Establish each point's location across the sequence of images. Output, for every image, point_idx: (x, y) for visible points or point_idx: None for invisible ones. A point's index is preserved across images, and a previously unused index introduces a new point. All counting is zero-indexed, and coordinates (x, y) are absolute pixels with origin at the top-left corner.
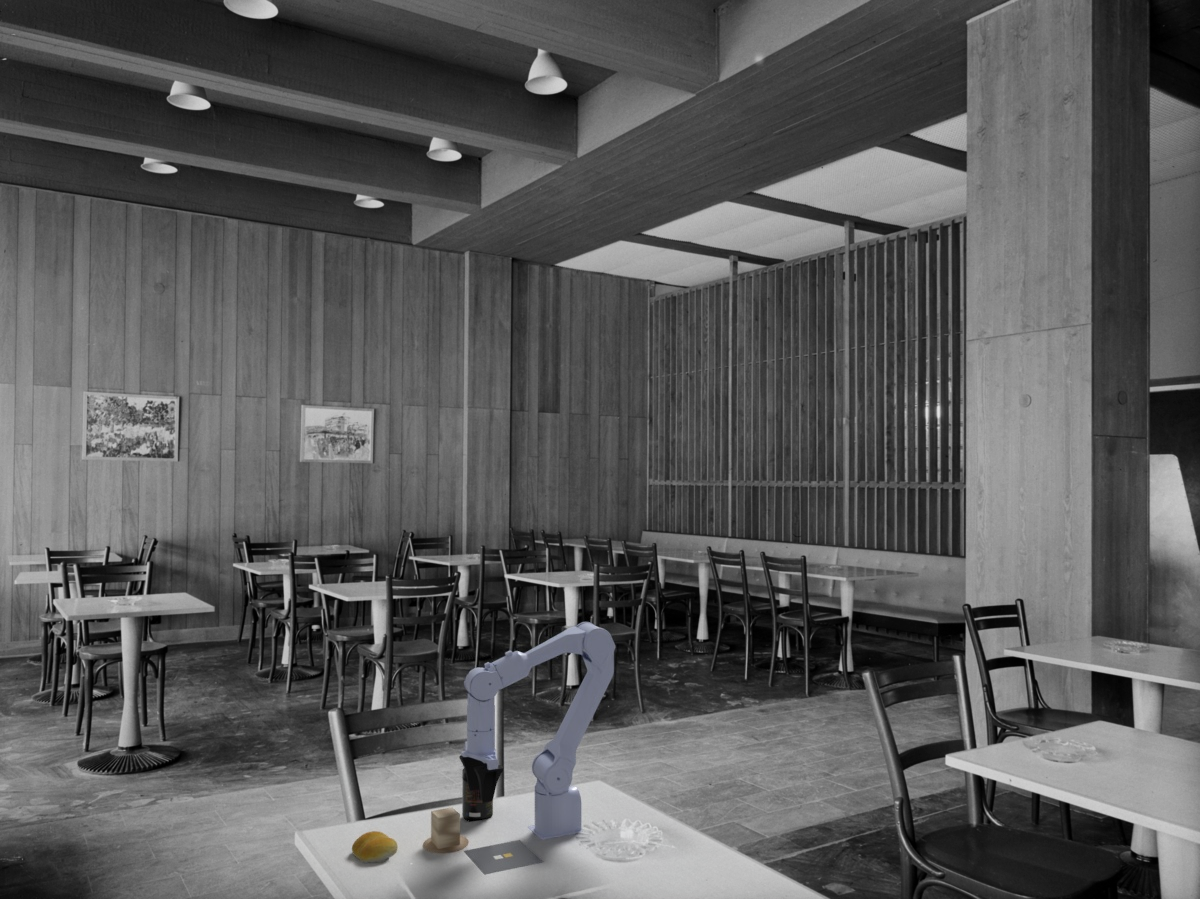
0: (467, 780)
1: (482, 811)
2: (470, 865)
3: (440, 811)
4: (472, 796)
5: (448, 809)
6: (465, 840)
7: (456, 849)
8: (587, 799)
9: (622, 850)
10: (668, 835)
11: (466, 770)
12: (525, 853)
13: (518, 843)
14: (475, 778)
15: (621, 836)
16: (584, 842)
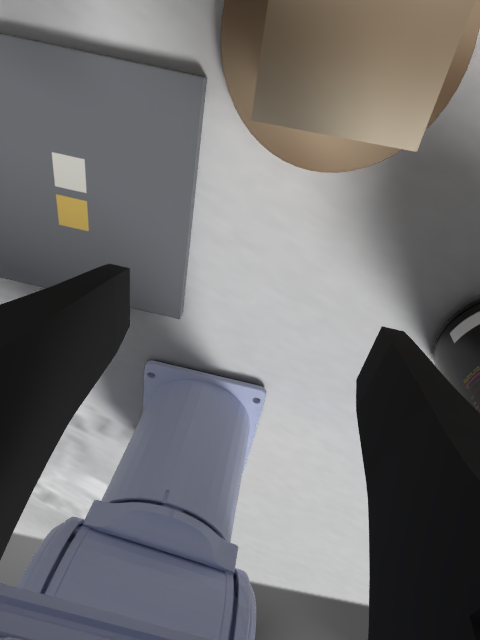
0: (429, 370)
1: (449, 353)
2: (74, 33)
3: (417, 2)
4: None
5: (403, 98)
6: (297, 151)
7: (227, 46)
8: (331, 558)
9: None
10: (58, 518)
11: (445, 435)
12: (63, 267)
13: (152, 298)
14: (382, 422)
15: (92, 478)
16: (96, 420)
